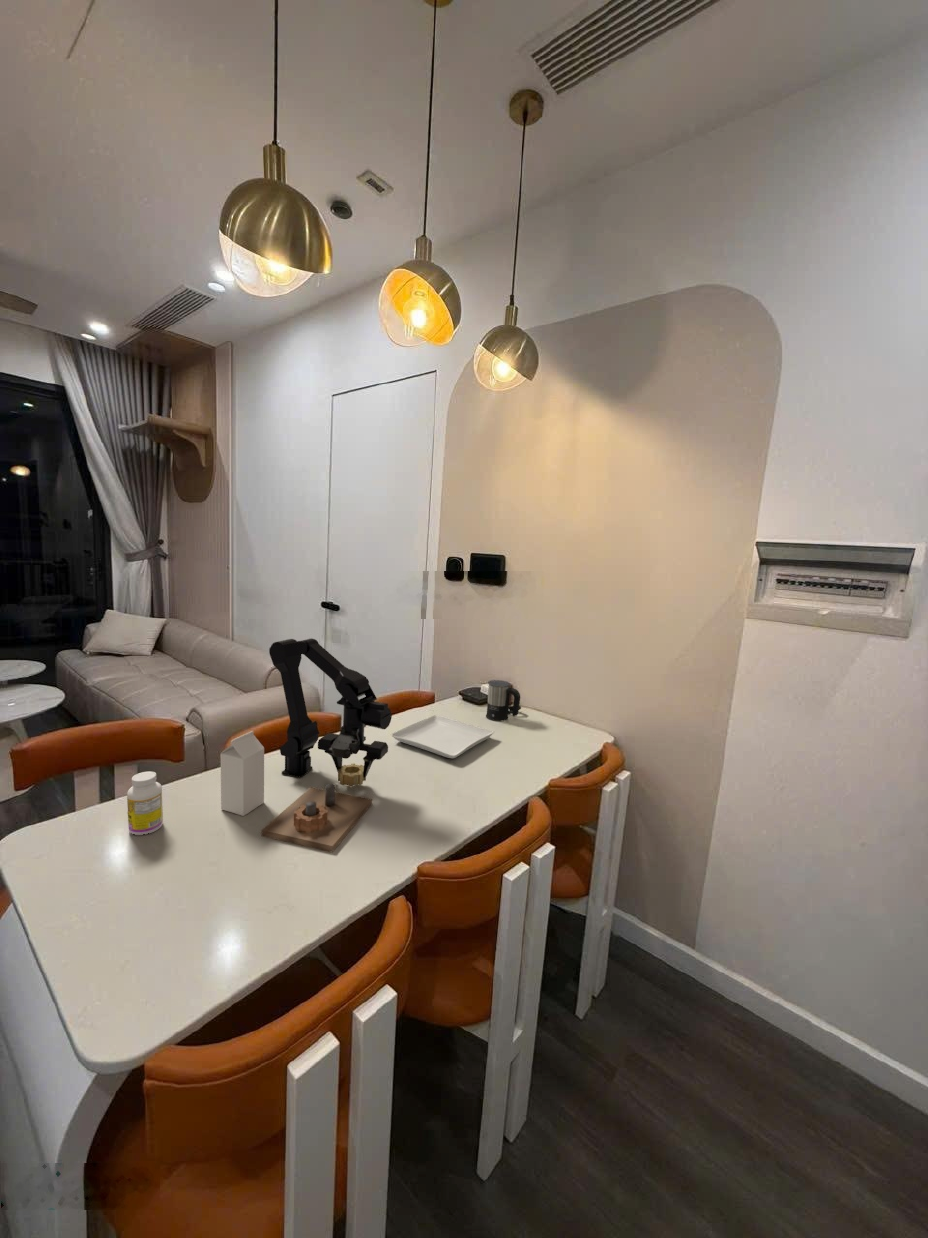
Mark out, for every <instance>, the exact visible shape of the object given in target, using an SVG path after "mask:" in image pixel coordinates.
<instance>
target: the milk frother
mask: <svg viewBox="0 0 928 1238" xmlns="http://www.w3.org/2000/svg"><path fill="white" fill-rule="evenodd" d="M487 685H488V693H487V707H486V715H485V718H487V719H488V720H491V721H496V722H500V721H501V722H504V721H506V720H508V718H509V716H510V715H512V716H513V717H517V716H518V714H519V711H520V710H521V709H522V706H521V705H520V702H521V693H520V692H519V690H517V689H516V688H514V687H510V686H511V683H510V682H509V681H506V680H502V679H493V680H489V681H488V682H487ZM511 695H512V696H513V704H512V705H510V698H511Z"/></svg>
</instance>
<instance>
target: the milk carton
mask: <svg viewBox="0 0 928 1238" xmlns="http://www.w3.org/2000/svg"><path fill="white" fill-rule="evenodd" d="M254 732H255V731H254V730H251V731H249V732H247V733H244V734H242V735H240V736H238V737H235V738H233V739H232V740H231V741H230V745H229V746H228V747H227V748H225V749H224V750H223V751H222V752H220V810H223V811H226V812H229V813H233V814H236V815H239V816H242V817H244V816H247V814H249V813H251V812H252V811H253V810H255V809H256V808H258V807H259V806H261V805H262V804H264V803H265V747H264V746H263V744H262V743H261V742H260V741H259V739H258V738H257V737H256V736H255V735H254Z"/></svg>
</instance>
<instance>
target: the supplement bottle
mask: <svg viewBox="0 0 928 1238" xmlns="http://www.w3.org/2000/svg"><path fill="white" fill-rule="evenodd" d="M131 785H132V786H131V787H130V788H129V789H128V790H127V793H126V800H127V801H126V802H127V824H128V825H127V826H128V832H129V833H130V834H131V833H132V834H131V835H133V834H135V835H134V836H144V835H143V834H145V835H149V834H152V833H154V832H156V831H157V830H159V829H161V827H162V826H163V822H164V812H163V811H164V810H163V807H164V806H163V787H162V784H161V783H160V782H158V781H157V773H156V772H155V771H142V772H139V773H136V774H134V775H133V776H132V777H131ZM148 833H149V834H148Z"/></svg>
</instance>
